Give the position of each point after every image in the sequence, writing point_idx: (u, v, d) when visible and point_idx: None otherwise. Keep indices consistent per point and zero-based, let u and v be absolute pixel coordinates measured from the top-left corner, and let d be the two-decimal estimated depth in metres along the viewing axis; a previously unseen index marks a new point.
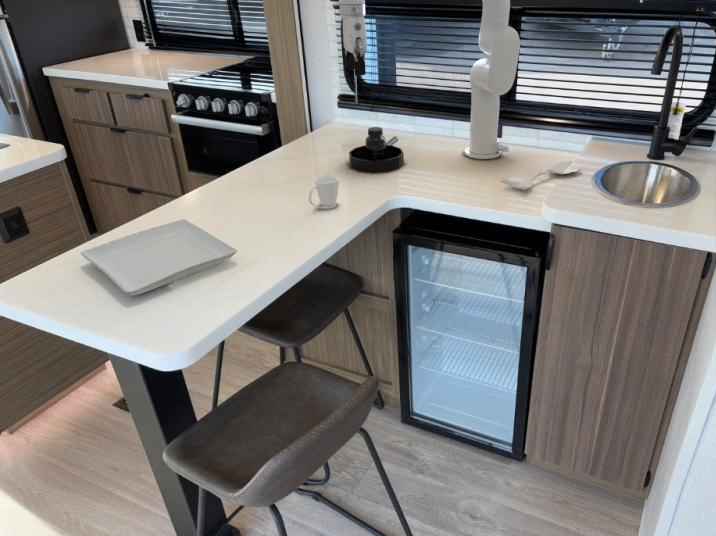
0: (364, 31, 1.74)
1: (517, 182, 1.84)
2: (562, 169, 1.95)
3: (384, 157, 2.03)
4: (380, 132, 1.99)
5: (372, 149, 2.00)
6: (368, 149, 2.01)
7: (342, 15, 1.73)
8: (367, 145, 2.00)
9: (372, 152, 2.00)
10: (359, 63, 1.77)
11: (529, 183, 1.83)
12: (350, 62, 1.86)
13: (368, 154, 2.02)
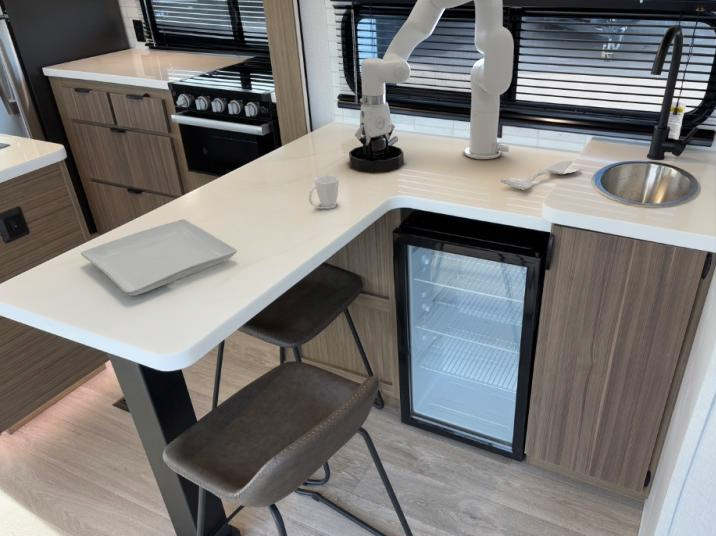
0: (366, 119, 1.93)
1: (517, 182, 1.84)
2: (562, 169, 1.95)
3: (384, 157, 2.03)
4: None
5: (372, 149, 2.00)
6: None
7: None
8: None
9: (372, 152, 2.00)
10: (363, 146, 2.00)
11: (529, 183, 1.83)
12: None
13: None
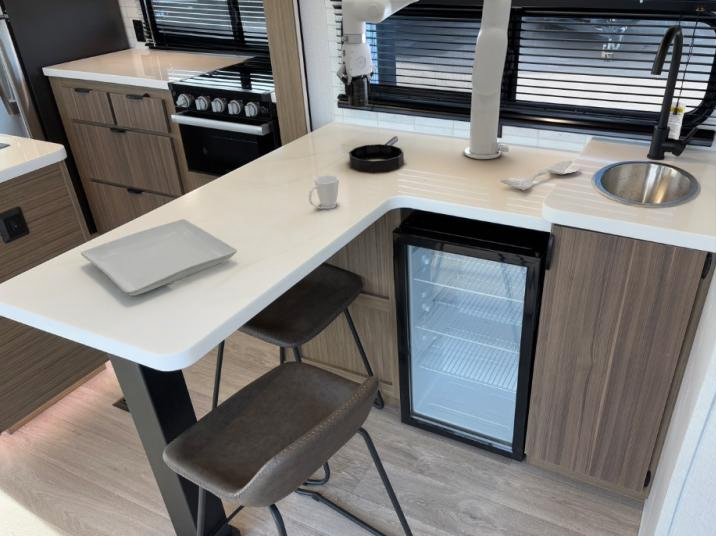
0: (347, 58, 1.98)
1: (517, 182, 1.84)
2: (562, 169, 1.95)
3: (365, 98, 2.07)
4: None
5: (353, 89, 2.04)
6: None
7: None
8: None
9: (354, 92, 2.05)
10: (345, 85, 2.04)
11: (529, 183, 1.83)
12: None
13: None
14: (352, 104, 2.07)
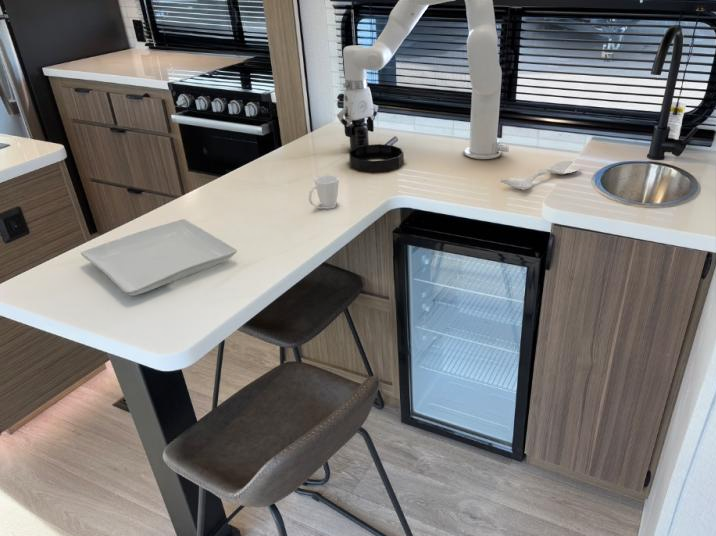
0: (349, 103, 2.07)
1: (517, 182, 1.84)
2: (562, 169, 1.95)
3: (366, 143, 2.17)
4: (362, 119, 2.13)
5: (355, 135, 2.14)
6: None
7: None
8: None
9: (355, 138, 2.14)
10: (345, 127, 2.12)
11: (529, 183, 1.83)
12: (368, 125, 2.18)
13: (351, 140, 2.16)
14: None
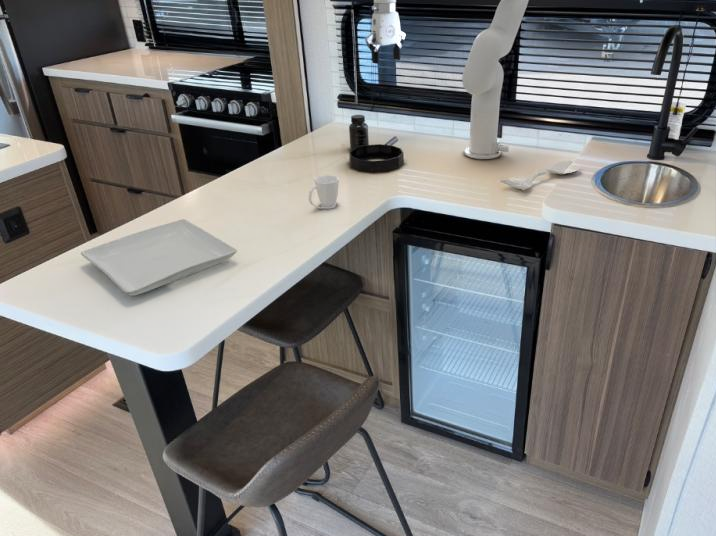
0: (378, 26, 2.04)
1: (517, 182, 1.84)
2: (562, 169, 1.95)
3: (366, 143, 2.17)
4: (362, 119, 2.13)
5: (355, 135, 2.14)
6: (351, 135, 2.15)
7: None
8: (350, 131, 2.14)
9: (355, 138, 2.14)
10: (372, 52, 2.10)
11: (529, 183, 1.83)
12: (395, 53, 2.16)
13: (351, 140, 2.16)
14: None
